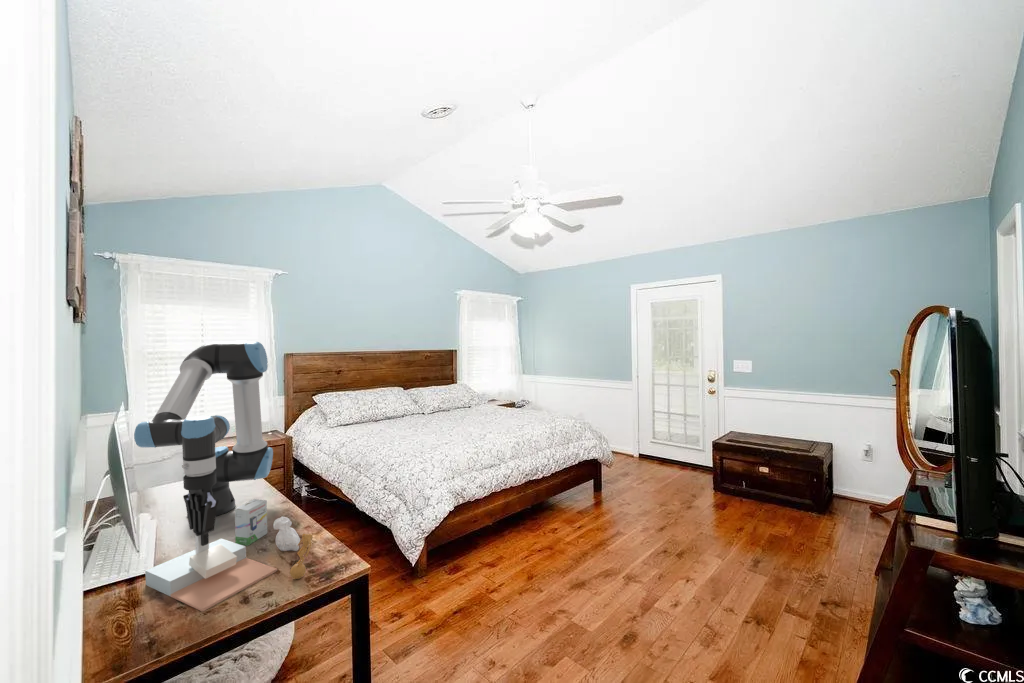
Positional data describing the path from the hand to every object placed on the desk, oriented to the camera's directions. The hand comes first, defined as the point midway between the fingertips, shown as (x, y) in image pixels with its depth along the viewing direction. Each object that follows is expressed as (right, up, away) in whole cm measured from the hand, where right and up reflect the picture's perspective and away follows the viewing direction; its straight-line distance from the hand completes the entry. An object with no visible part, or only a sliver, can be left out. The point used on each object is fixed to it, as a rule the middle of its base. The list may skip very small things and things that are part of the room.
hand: (202, 555), depth 125 cm
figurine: (+29, -6, -1) cm, 29 cm away
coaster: (+4, -2, -2) cm, 5 cm away
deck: (-2, -5, +2) cm, 6 cm away
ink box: (+2, -5, +21) cm, 21 cm away
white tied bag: (+16, -5, +15) cm, 23 cm away
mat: (+9, -6, -4) cm, 12 cm away
